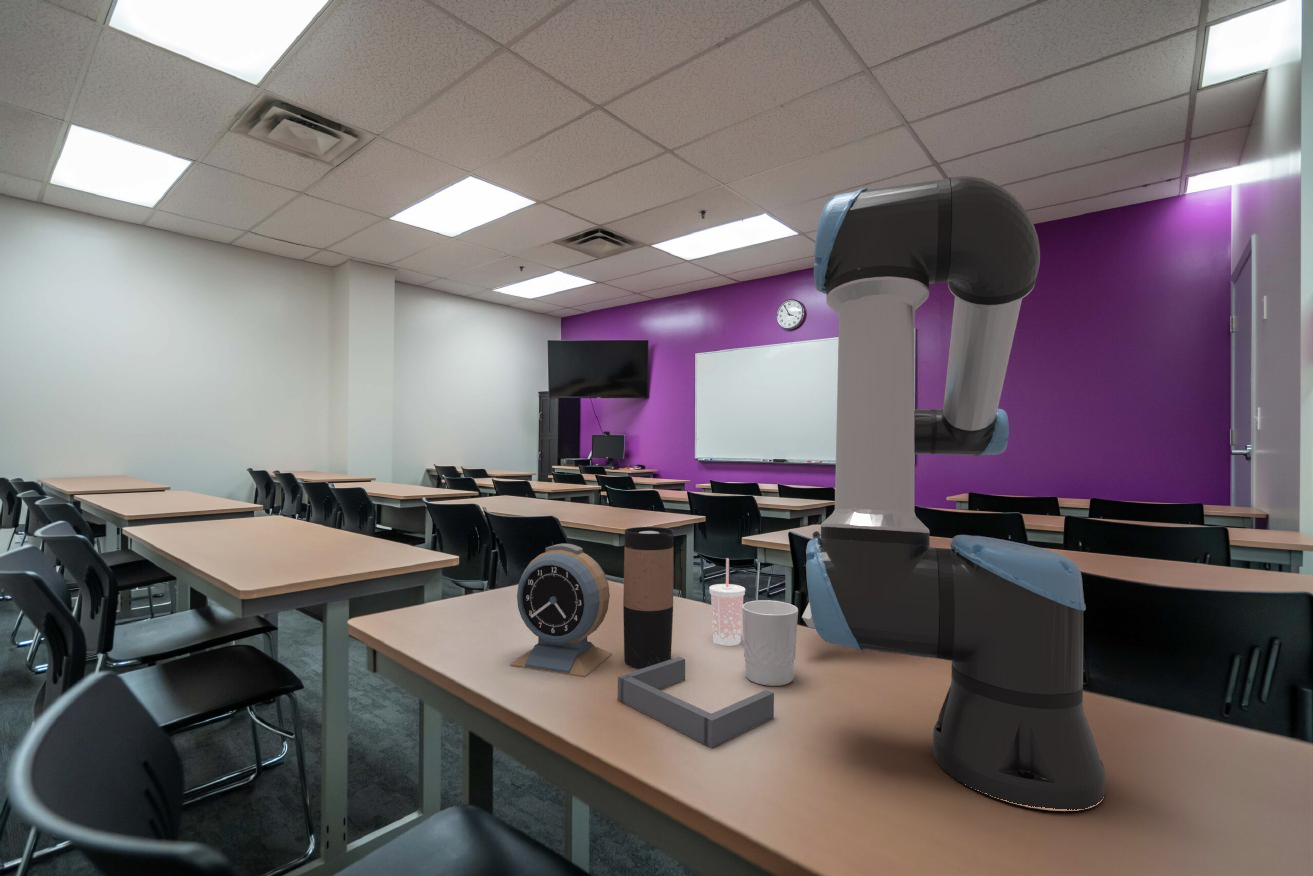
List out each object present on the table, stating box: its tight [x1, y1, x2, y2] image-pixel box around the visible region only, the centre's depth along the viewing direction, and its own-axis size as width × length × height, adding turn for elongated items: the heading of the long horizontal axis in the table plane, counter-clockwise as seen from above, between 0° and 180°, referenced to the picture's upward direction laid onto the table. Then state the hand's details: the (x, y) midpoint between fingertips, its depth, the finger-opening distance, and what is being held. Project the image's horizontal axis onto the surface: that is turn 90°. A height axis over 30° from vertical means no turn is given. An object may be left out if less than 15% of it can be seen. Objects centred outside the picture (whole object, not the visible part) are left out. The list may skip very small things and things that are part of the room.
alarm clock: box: [509, 543, 613, 678], centre depth 91 cm, size 14×10×18 cm
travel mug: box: [622, 526, 675, 670], centre depth 91 cm, size 8×8×20 cm
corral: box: [617, 656, 775, 749], centre depth 75 cm, size 11×16×3 cm
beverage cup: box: [708, 557, 746, 647], centre depth 101 cm, size 6×6×14 cm
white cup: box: [742, 599, 799, 687], centre depth 85 cm, size 8×8×10 cm
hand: (809, 623), depth 93 cm, fingers closed
